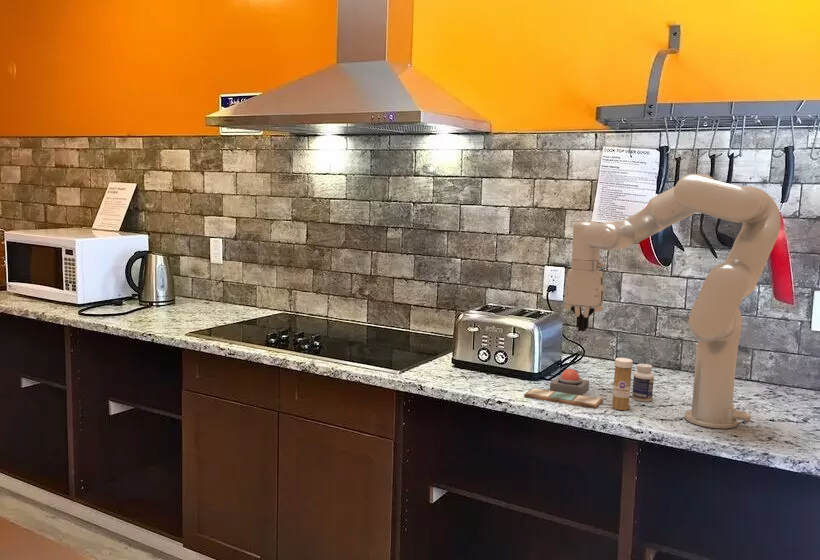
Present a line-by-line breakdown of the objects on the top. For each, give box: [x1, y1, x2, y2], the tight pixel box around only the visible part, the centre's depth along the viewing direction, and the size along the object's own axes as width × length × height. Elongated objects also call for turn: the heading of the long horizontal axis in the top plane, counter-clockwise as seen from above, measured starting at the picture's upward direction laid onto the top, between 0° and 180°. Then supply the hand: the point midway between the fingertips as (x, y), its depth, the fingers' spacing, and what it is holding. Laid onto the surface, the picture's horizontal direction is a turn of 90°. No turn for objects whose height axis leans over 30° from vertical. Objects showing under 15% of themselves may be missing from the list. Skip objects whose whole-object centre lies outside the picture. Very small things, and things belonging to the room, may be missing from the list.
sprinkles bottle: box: [611, 357, 634, 411], centre depth 201 cm, size 5×5×13 cm
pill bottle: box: [631, 363, 655, 403], centre depth 211 cm, size 5×5×10 cm
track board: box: [523, 387, 604, 410], centre depth 209 cm, size 20×8×1 cm, turn 63°
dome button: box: [557, 368, 583, 385], centre depth 218 cm, size 7×7×6 cm
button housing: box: [549, 375, 590, 396], centre depth 218 cm, size 9×9×3 cm
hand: (582, 330), depth 213 cm, fingers closed
